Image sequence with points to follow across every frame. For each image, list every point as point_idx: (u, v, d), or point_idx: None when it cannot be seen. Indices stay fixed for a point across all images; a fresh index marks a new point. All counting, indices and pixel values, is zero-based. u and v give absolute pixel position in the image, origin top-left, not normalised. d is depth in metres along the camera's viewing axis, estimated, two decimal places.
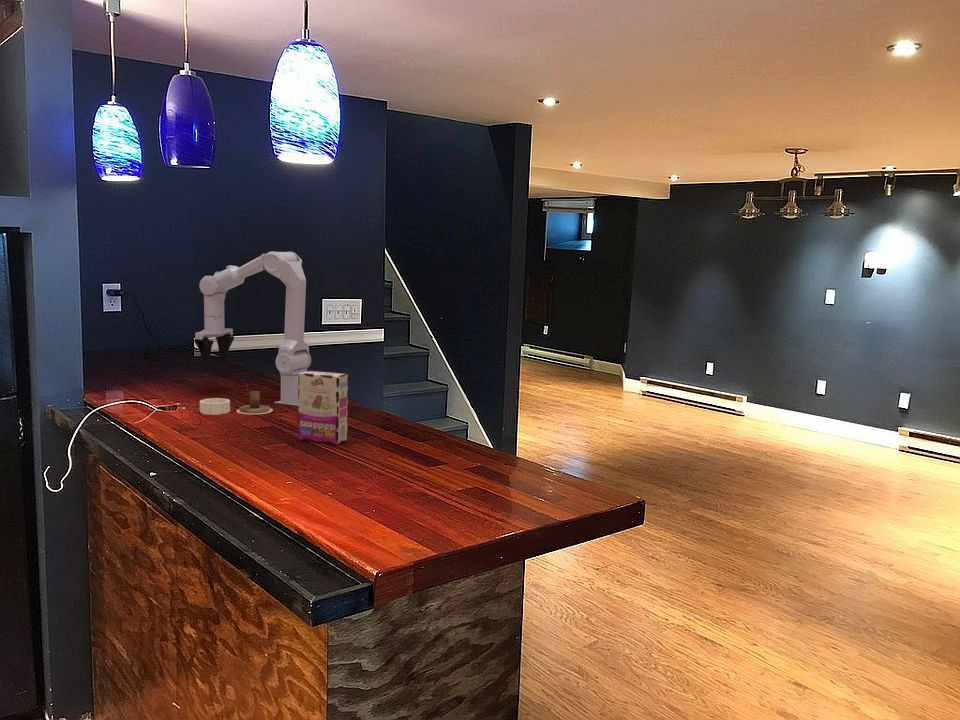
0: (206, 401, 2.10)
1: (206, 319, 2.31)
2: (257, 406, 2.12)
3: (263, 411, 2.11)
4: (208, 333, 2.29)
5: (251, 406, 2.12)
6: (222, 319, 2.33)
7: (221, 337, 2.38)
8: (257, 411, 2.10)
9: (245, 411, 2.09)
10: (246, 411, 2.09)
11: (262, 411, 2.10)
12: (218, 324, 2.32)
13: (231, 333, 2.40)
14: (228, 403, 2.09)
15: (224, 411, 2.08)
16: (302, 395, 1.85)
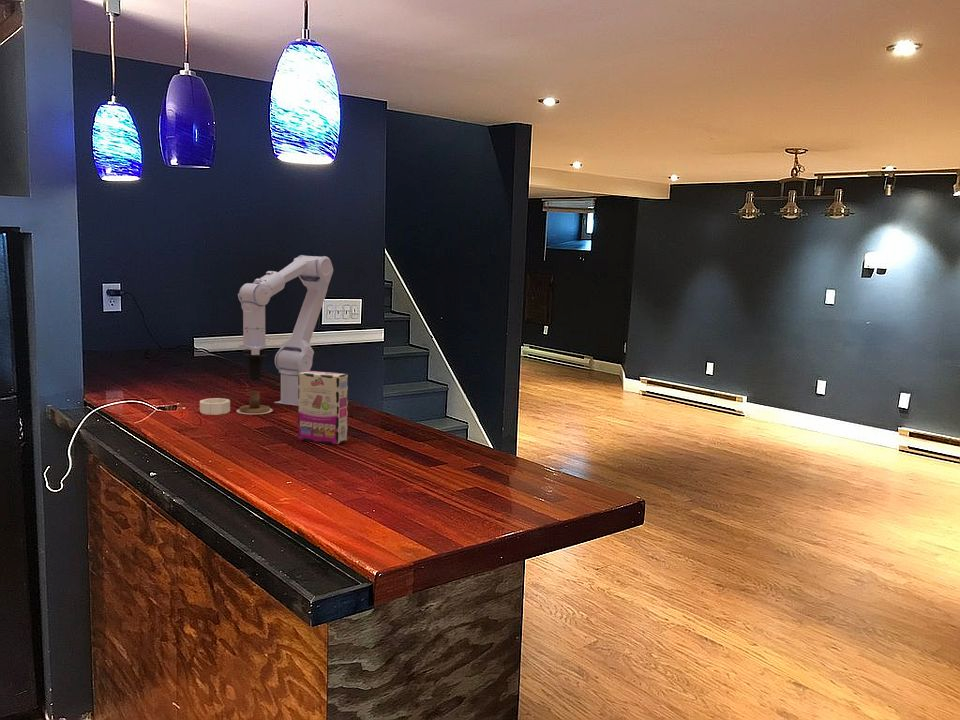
0: (206, 401, 2.10)
1: (252, 332, 2.07)
2: (257, 406, 2.12)
3: (263, 411, 2.11)
4: (261, 347, 2.07)
5: (251, 406, 2.12)
6: None
7: None
8: (257, 411, 2.10)
9: (245, 411, 2.09)
10: (246, 411, 2.09)
11: (262, 411, 2.10)
12: (264, 337, 2.10)
13: None
14: (228, 403, 2.09)
15: (224, 411, 2.08)
16: (302, 395, 1.85)
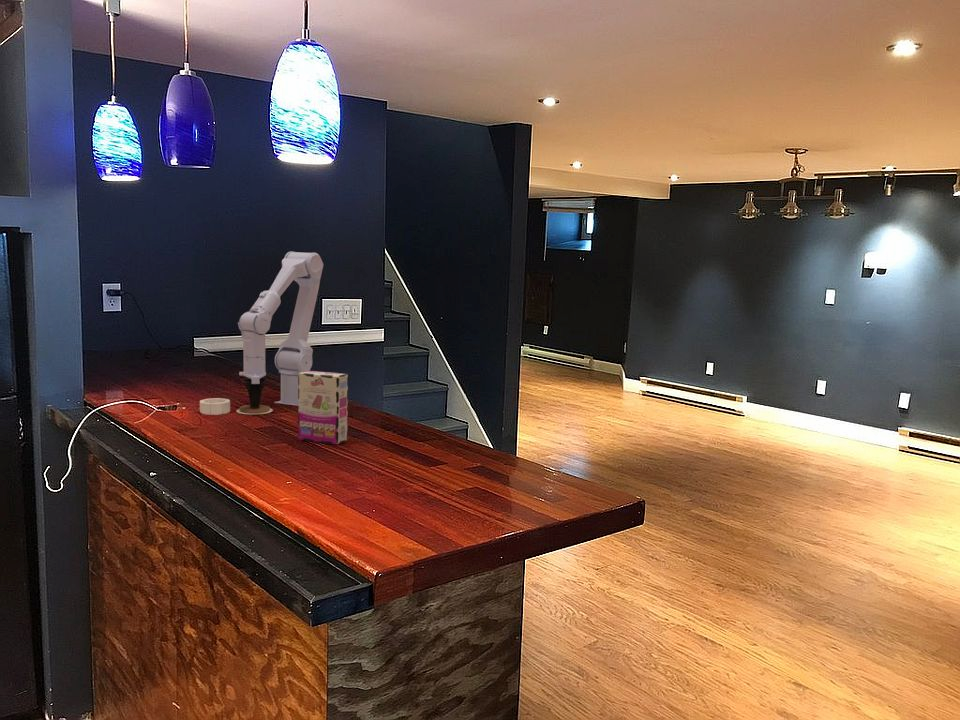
0: (206, 401, 2.10)
1: (252, 360, 2.08)
2: None
3: (263, 411, 2.11)
4: (261, 376, 2.08)
5: None
6: None
7: (252, 380, 2.13)
8: (257, 411, 2.10)
9: (245, 411, 2.09)
10: (246, 411, 2.09)
11: (262, 411, 2.10)
12: (264, 365, 2.11)
13: None
14: (228, 403, 2.09)
15: (224, 411, 2.08)
16: (302, 395, 1.85)
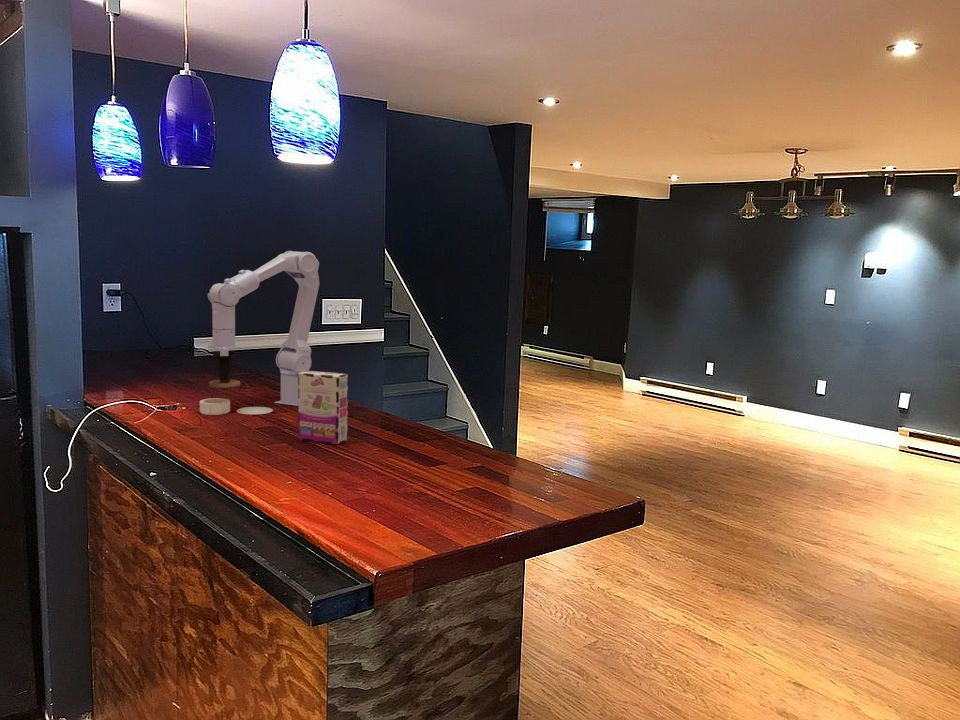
0: (206, 401, 2.10)
1: (221, 333, 2.05)
2: (227, 380, 2.09)
3: (233, 385, 2.07)
4: (230, 348, 2.04)
5: (221, 380, 2.08)
6: None
7: None
8: (227, 385, 2.06)
9: (214, 385, 2.06)
10: (215, 385, 2.06)
11: (232, 385, 2.07)
12: (234, 337, 2.07)
13: None
14: (228, 403, 2.09)
15: (224, 411, 2.08)
16: (302, 395, 1.85)
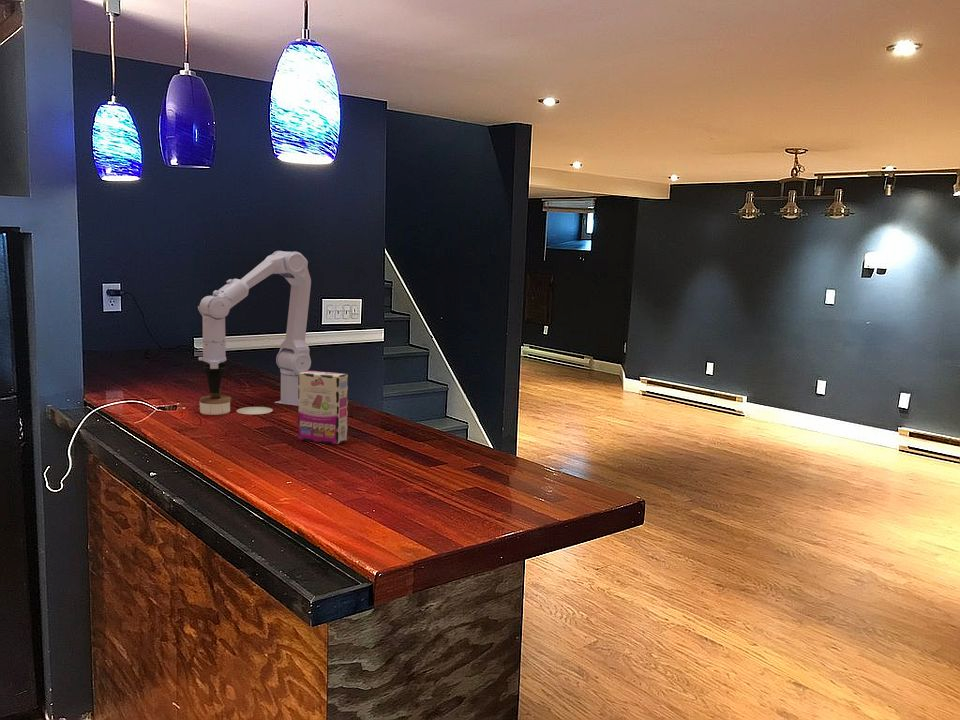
0: None
1: (211, 345, 2.05)
2: (218, 397, 2.09)
3: (223, 402, 2.07)
4: (220, 361, 2.04)
5: (211, 397, 2.08)
6: None
7: None
8: (217, 401, 2.06)
9: (205, 401, 2.06)
10: (206, 401, 2.06)
11: (222, 402, 2.07)
12: (224, 350, 2.07)
13: None
14: (228, 403, 2.09)
15: (224, 411, 2.08)
16: (302, 395, 1.85)
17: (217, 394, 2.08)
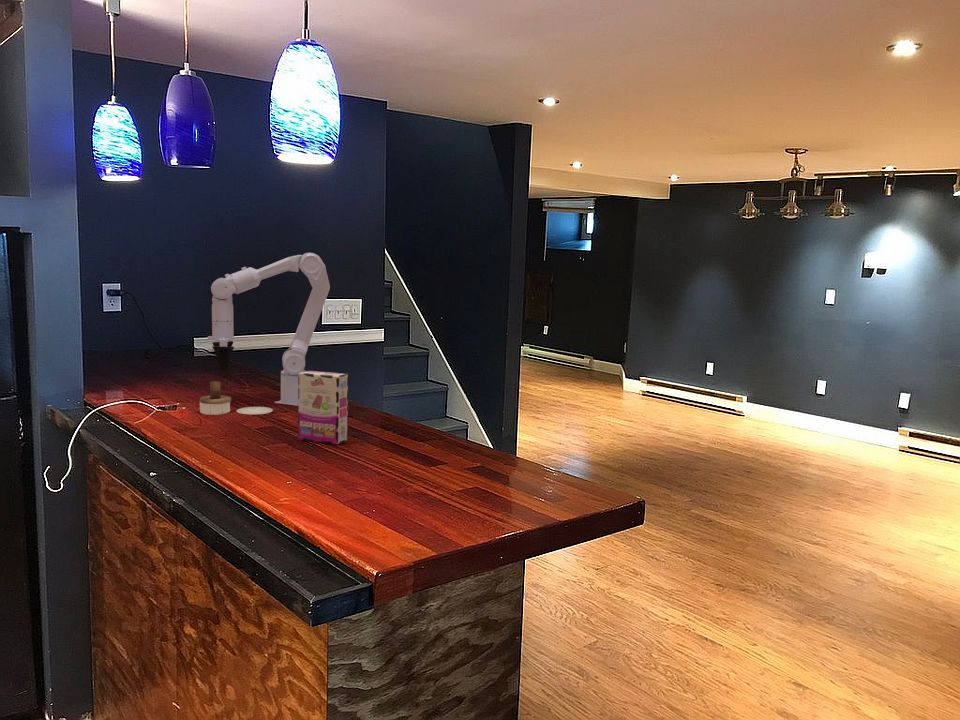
0: None
1: (220, 325, 2.16)
2: (218, 397, 2.09)
3: (223, 402, 2.07)
4: (229, 339, 2.15)
5: (211, 397, 2.08)
6: None
7: None
8: (217, 401, 2.06)
9: (205, 401, 2.06)
10: (206, 401, 2.06)
11: (222, 402, 2.07)
12: (232, 329, 2.19)
13: None
14: (228, 403, 2.09)
15: (224, 411, 2.08)
16: (302, 395, 1.85)
17: (217, 394, 2.08)
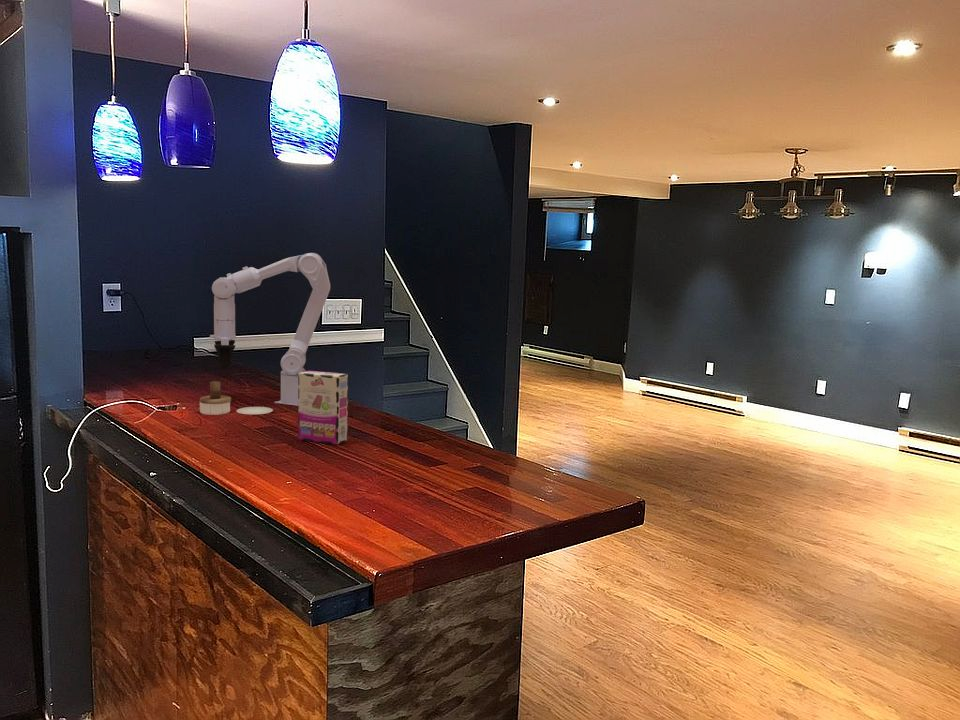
0: None
1: (222, 323, 2.18)
2: (218, 397, 2.09)
3: (223, 402, 2.07)
4: (230, 338, 2.18)
5: (211, 397, 2.08)
6: None
7: None
8: (217, 401, 2.06)
9: (205, 401, 2.06)
10: (206, 401, 2.06)
11: (222, 402, 2.07)
12: (234, 328, 2.21)
13: None
14: (228, 403, 2.09)
15: (224, 411, 2.08)
16: (302, 395, 1.85)
17: (217, 394, 2.08)
